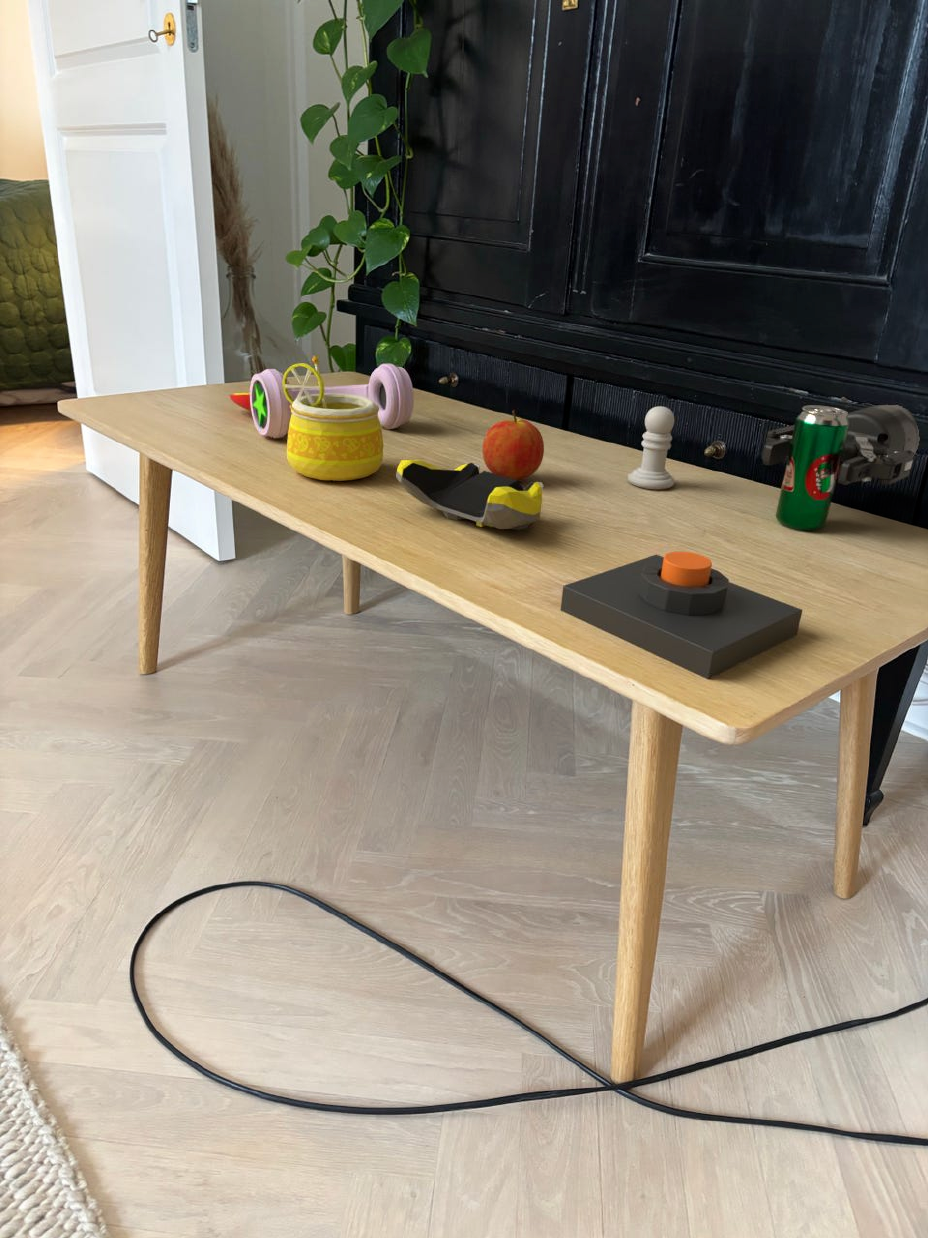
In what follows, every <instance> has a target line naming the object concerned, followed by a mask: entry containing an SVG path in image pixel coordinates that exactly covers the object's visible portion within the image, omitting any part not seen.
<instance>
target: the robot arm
mask: <svg viewBox="0 0 928 1238" xmlns="http://www.w3.org/2000/svg"><path fill="white" fill-rule="evenodd" d="M912 414H913V413H912V412H910V411H909V410H908V409H906V408H903V407H902V406H899V405H888V404H878V405H873V406H869V407H865V408H862V409H859V410H855V411H850V412H848V415H847V419H848V422H849V429H848V433H847V437H846V441H845V446H844V450H843V454H842V458H841V462H840V467H839V471H838V475H837V477H838V478H837V482H838V484H840V485H844V486H847V485H849V484H853V483H856V482H864V483H867V482H871V481H872V479H873V478H875V479H878V480H877V482H878V484H881V485H883V486H887V485H889V486H890V485H892V484H894V483H897V482H899V481H901V480H904V479H905V478H907V477H909V476H910V472H911V469H912V465H913V462H914V459H913V457H914V454H915V453H916V451H917V449H918V446H919V441H920V437H919V429H918V426H917V423H916V421H915V419H914V416H913V415H912ZM794 426H795V424H793V425H788V426H785V427H780V428H776V429H772V430H768V431H767V434H766V438H765V444H764V445H763V450H762V455H761V460H762V464H763V465H766V466H773V465H778V464H780V463H782V462H787V459H788V454H789V449H790V445H791V440H792V435H793V430H794Z"/></svg>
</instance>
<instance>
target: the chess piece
mask: <svg viewBox="0 0 928 1238" xmlns="http://www.w3.org/2000/svg"><path fill="white" fill-rule="evenodd" d="M674 425H675V415H674V412H673V411H672V410H671V409H670V408H668V407H666V406H660V405H659V406H654V407H652V408H650V409H649V410H648V412H647V413H646V415H645V418H644V426H645V430H646V431H645V432H644V433H643V434H642V438H643V440H642V441H641V446H642V447H643V450H642V451H643V452H642V458H641V465H640V466H639V467H637V468H635V469H634V470H633V471H631V472H629V473H628V474H627V475H628V476H627V481H628V482H629V484H631V485H632V486H635V487H637V488H641V489H645V490H646V489H647V490H654V491H655V490H656V491H657V490H659V491H660V490H666V489H670V488H671V487H673V486H674V484H675V479H674V477H673V476H672V475H671V474H670V473H669V471H667V469H666V461H667V455H668V450H670V449H671V447H672V444H671V442H672V440H673V436H672V435H671V433H670V432H671V431H672V430H673V428H674Z"/></svg>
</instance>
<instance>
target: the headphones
mask: <svg viewBox="0 0 928 1238" xmlns="http://www.w3.org/2000/svg"><path fill="white" fill-rule="evenodd" d="M283 378H284V373H283V372H280V371H278V370H277V369H275V368H267V369H264V370H263V371H261V372H259V373H254V375H253V376H252V378H251V381H250V384H249V386H250V387H249V392H235V393H233V394H229V399H230V400H231V402H233V403H234V404H236V405H237V406H239V407H241V408H242V409H244V410H247V411H249V412H251V417H252V419H253V423H254V426H255V428H256V431H257V432H258V434H260V435H261V436H266V437H270V438H272V437H273V438H272V439H282V438H284V437H285V436H286V435H288V431H289V423H290V419H291V415H292V412H291V409H290V405H291V403H290V401H289V400H288V399H287V398H286V396H285V394H284V390H283V383H282V382H283ZM287 383H288V384H290V382H289V380H288V379H287ZM287 389H288V392H289V395H290V396H291V398H292V399H293V400H294V401H295V399H296V397H297V396H298V394H299V392H300V390H301V391H302V389H301V387H294V388H287ZM304 390H305V392H306V393H307V391H308V393H309V394H310V395H311V394H320V391H319V390H316V389H311V388H306V389H305V388H304ZM304 390H303V392H302V395H301V397H303V396H306V394H305V392H304ZM306 390H307V391H306ZM308 393H307V395H308ZM324 393H338V394H350V395H357V396H362V397H366V398H368V399H370V400H372V401H373V402H375V403H376V405H378V407H379V412H378V418H379V421H380V424H381V427H384V428H385V429H387V430H392V429H398V428H399V427H400V426H401V425H405V424H407V423H408V422H409V421H410V420H411V418H412V415H413V411H414V405H415V404H414V403H415V402H414V401H415V396H414V395H415V394H414V387H413V383H412V380H411V377H410V375H409V373H408V372H407V370H406V369H405V368H403V367H401V366H397V365H394V364H393V363H382V364H380V365H379V366H378V367H377V368H375V369H374V371H373V372H372V373H371V375H370V377H369V381H368V384H367V383H366V384H365V383H364V384H351V385H349V384H348V385H333V386H331V385H330V386H324Z"/></svg>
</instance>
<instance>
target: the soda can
mask: <svg viewBox="0 0 928 1238" xmlns="http://www.w3.org/2000/svg"><path fill="white" fill-rule="evenodd" d="M848 413H849V412H848V411H846V410H844V409H841V408H838V407H833V406H827V405H826V406H825V405H816V404H815V405H814V404H813V405H812V404H811V405H804V406H802V407H801V411H800V412H799V414H798V415H797V416H796V417H795V420H794V421H795V423H794V425H795V426H794V430H793V435H792V440H791V445H790V449H789V454H788V459H787V461H786V463H785V469H784V474H783V479H782V483H781V488H780V492H779V497H778V501H777V505H776V506H777V507H776V510H775V511H776V512H775V517H776V520H777V521H778V523H779V524H780V525H782V526H784V527H785V528H789V529H792V530H797V531H802V532H803V531H805V532H814V531H819V530H820V529H822V528H823V527H824V526H825V525H826V524H827V521H828V518H829V513H830V509H831V504H832V500H833V495H834V491H835V487H836V485H837V484H836V483H837V480H838V471H839V467H840V462H841V458H842V454H843V450H844V446H845V441H846V437H847V433H848V429H849V422H848V419H847V415H848Z"/></svg>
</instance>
